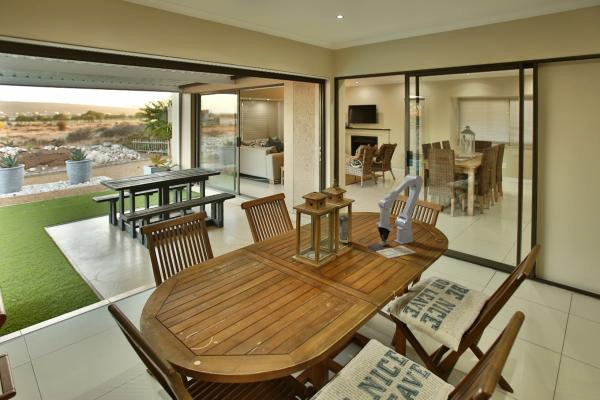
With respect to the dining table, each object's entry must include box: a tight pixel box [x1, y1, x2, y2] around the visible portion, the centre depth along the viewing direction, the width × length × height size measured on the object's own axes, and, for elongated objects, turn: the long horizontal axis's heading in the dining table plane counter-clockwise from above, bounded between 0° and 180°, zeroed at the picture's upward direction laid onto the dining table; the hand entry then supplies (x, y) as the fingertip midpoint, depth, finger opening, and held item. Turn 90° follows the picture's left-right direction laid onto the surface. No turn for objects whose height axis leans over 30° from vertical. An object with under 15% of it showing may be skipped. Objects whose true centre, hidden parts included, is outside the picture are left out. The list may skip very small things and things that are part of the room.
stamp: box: [377, 234, 390, 248], centre depth 227 cm, size 5×4×7 cm
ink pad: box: [366, 243, 384, 252], centre depth 223 cm, size 7×7×1 cm
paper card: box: [375, 245, 417, 259], centre depth 216 cm, size 20×12×1 cm, turn 114°
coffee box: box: [339, 215, 349, 240], centre depth 235 cm, size 9×6×16 cm
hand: (383, 238), depth 227 cm, fingers closed on stamp, 3 cm apart
